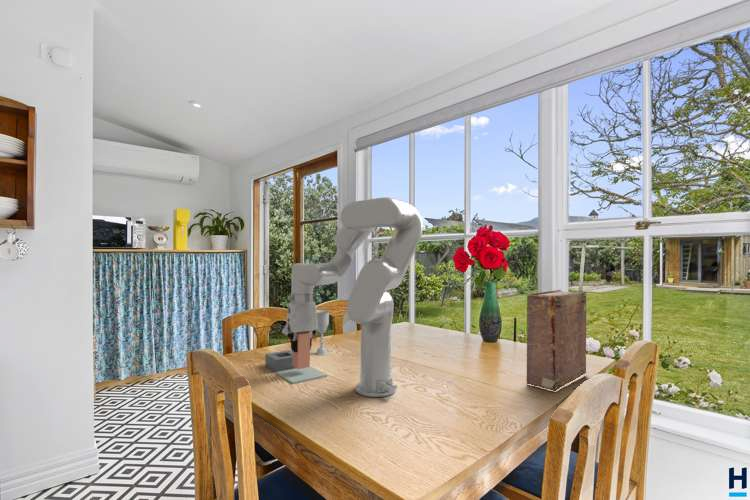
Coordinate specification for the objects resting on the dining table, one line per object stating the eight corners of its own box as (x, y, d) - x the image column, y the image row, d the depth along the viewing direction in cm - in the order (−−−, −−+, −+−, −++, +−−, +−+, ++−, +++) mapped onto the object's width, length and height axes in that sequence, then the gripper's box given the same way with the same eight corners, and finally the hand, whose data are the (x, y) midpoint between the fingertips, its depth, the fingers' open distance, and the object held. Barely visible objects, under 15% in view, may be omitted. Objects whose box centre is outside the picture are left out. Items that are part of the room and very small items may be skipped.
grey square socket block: (301, 367, 143) (301, 355, 143) (276, 372, 137) (276, 359, 137) (289, 361, 151) (290, 350, 151) (265, 365, 145) (265, 353, 145)
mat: (327, 376, 133) (327, 374, 133) (292, 384, 125) (292, 382, 125) (309, 367, 143) (309, 365, 143) (276, 373, 135) (276, 372, 135)
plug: (309, 367, 134) (310, 332, 134) (297, 369, 131) (298, 334, 131) (303, 363, 138) (304, 330, 137) (292, 365, 135) (292, 331, 135)
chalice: (328, 356, 159) (328, 312, 159) (312, 355, 159) (312, 312, 160) (330, 351, 167) (331, 310, 167) (315, 351, 167) (315, 309, 167)
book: (559, 370, 142) (560, 289, 142) (586, 376, 135) (586, 291, 136) (526, 385, 125) (526, 294, 126) (554, 393, 119) (555, 296, 119)
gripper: (284, 301, 126) (283, 356, 126) (328, 298, 137) (327, 349, 136) (274, 298, 132) (274, 351, 132) (318, 295, 142) (317, 344, 142)
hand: (301, 349), depth 134 cm, fingers closed on plug, 4 cm apart
